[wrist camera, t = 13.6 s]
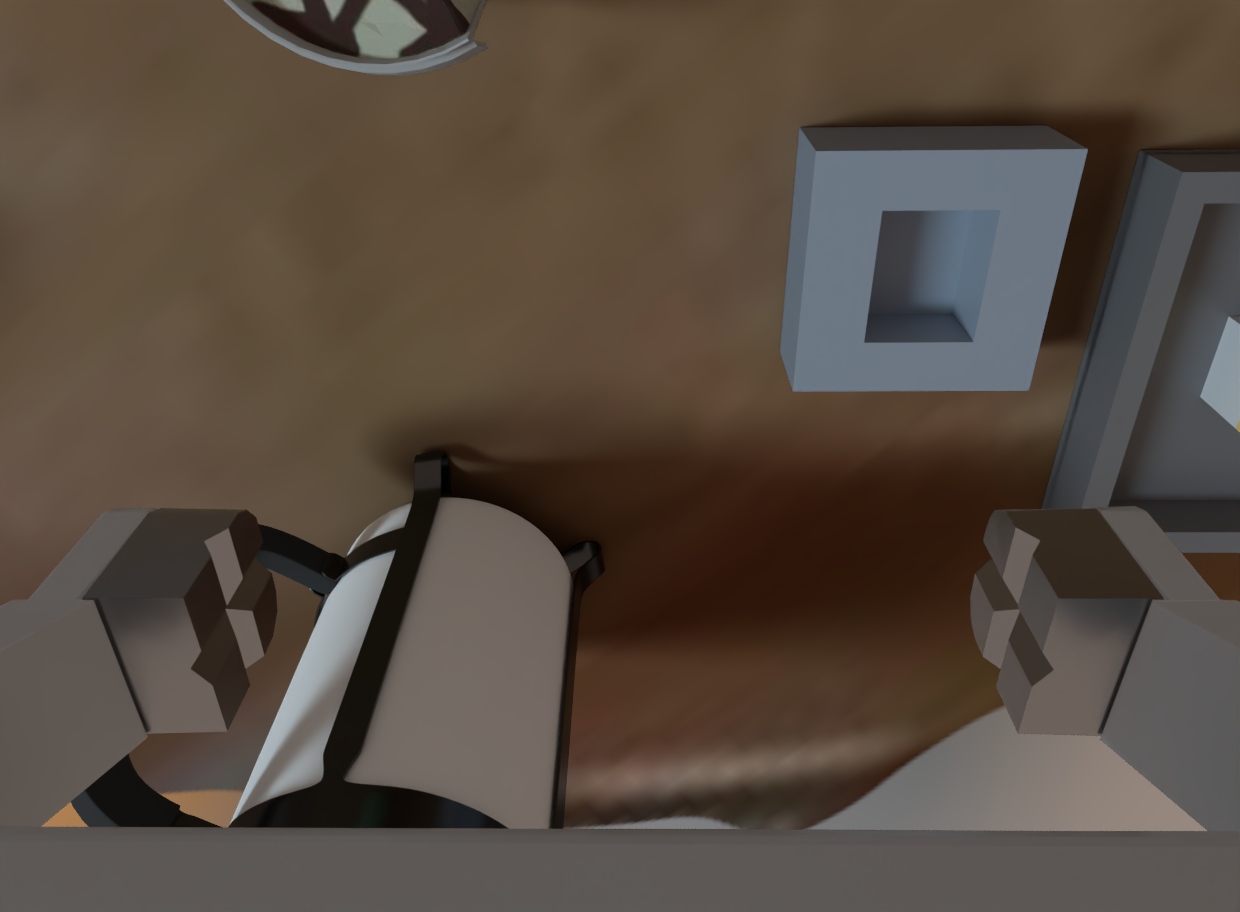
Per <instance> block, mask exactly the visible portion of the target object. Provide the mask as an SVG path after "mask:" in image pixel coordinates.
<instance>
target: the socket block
mask: <svg viewBox="0 0 1240 912" xmlns="http://www.w3.org/2000/svg"><path fill="white" fill-rule="evenodd" d="M1087 151H1088V149H1087V148H1085V147H1084V146H1082V145H1080V144H1078V143H1077V142H1075V141H1073V140H1071V139H1070V138H1068V137H1066V136H1064V135H1063V134H1061V133H1059V132H1057V131H1056V130H1054V129H1052V128H1050V127H1049V126H925V127H800V128H799V139H798V151H797V162H796V174H795V185H794V197H793V208H792V220H791V231H790V243H789V254H788V266H787V277H786V289H785V300H784V312H783V323H782V335H781V346H780V353H781V356H782V359H783V362H784V366H785V369H786V372H787V375H788V378H789V381H790V385H791V388H792V391H1029V388H1030V384H1031V380H1032V376H1033V372H1034V367H1035V363H1036V359H1037V355H1038V351H1039V347H1040V343H1041V339H1042V335H1043V331H1044V327H1045V323H1046V319H1047V314H1048V310H1049V306H1050V302H1051V298H1052V294H1053V290H1054V286H1055V282H1056V278H1057V274H1058V270H1059V266H1060V262H1061V257H1062V253H1063V249H1064V245H1065V241H1066V237H1067V233H1068V229H1069V225H1070V221H1071V217H1072V213H1073V209H1074V204H1075V200H1076V196H1077V192H1078V188H1079V184H1080V180H1081V176H1082V172H1083V168H1084V164H1085V160H1086V156H1087Z"/></svg>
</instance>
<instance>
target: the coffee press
mask: <svg viewBox="0 0 1240 912" xmlns="http://www.w3.org/2000/svg"><path fill="white" fill-rule="evenodd" d="M258 525H259V529H260V532H261V535H262V539H263V543H262V545H261V547H260V548H259V550H258V552H257V554H256V556H255V557H254V558H255V559H256V560H257V561H258V562H260V563H261V564H262V565H263V566H264V567H265V568H267V569H270V570H272V571H275V572H277V573H279V574H282V575H284V576H286V577H288V578H290V579H292V580H294V581H296V582H298V583H300V584H302V585H304V586H307V587H309V589H310V590H311V591H312V593H314V594H316V595H318V596H319V597H321V598H322V599H321V601H320V604H319V606H318V609H317V612H316V617H315V623H314V630H313V633H312V635H311V637H310V640H309V642H308V644H307V646H306V649H305V651H304V653H303V656H302V658H301V660H300V663H299V665H298V667H297V670H296V672H295V674H294V677H293V679H292V681H291V683H290V686H289V688H288V690H287V693H286V695H285V697H284V700H283V702H282V704H281V707H280V709H279V711H278V714H277V716H276V718H275V721H274V723H273V725H272V728H271V730H270V732H269V735H268V737H267V739H266V741H265V744H264V746H263V748H262V751H261V753H260V755H259V758H258V760H257V762H256V765H255V767H254V769H253V772H252V774H251V776H250V779H249V781H248V783H247V786H246V788H245V790H244V793H243V795H242V797H241V799H240V802H239V804H238V806H237V809H236V811H235V814H234V816H233V818H232V820H231V823H230V825H229V827H228V828H480V829H563V824H564V811H565V797H566V784H567V770H568V757H569V744H570V730H571V717H572V704H573V690H574V677H575V664H576V651H577V638H578V626H579V614H580V605H581V599H582V595H583V593H584V591H585V590H586V589H587V588H588V587H589V585H590V584H592V583H593V582H594V581H595V580H596V579H597V578H598V577H599V576H600V575H601V574H602V573H603V572H604V570H605V565H604V560H603V555H602V550H601V546H600V544H599V543H597V542H594V541H585V542H581V543H579V544H577V545H575V546H574V547H572V548H571V549H569V550H568V551H566V552H564V553H563V554H560V552H559V551H558V550H557V548H556V547H555V546H554V544H553V543H552V542H551V541H550V540H549V539H548V538H547V537H546V536H545V535H544V534H543V533H542V532H541V531H540V530H539V529H538V528H536V527H535V526H534V525H533V524H531V523H530V522H528V521H527V520H525V519H524V518H522V517H520V516H519V515H517V514H515V513H513V512H511V511H509V510H506V509H504V508H502V507H499V506H496V505H493V504H490V503H486V502H482V501H478V500H472V499H465V498H452V493H451V480H450V466H449V461H448V457H447V455H446V453H445V452H444V451H442V452H435V453H427V454H419V455H416V457H415V462H414V497H413V501H412V503H409V504H406V505H403V506H401V507H398V508H396V509H394V510H392V511H390V512H388V513H386V514H384V515H383V516H381V517H379V518H378V519H377V520H375V521H374V522H373V523H372V524H370V525H369V526H368V527H367V528H366V529H365V530H364V531H363V532H362V533H361V535H360V536H359V537H358V538H357V540H356V541H355V543H354V544H353V546H352V547H351V549H350V550H349V552H348V554H347V556H346V557H345V558H343V557H341V556H339V555H337V554H335V553H328V552H326V551H324V550H322V549H320V548H318V547H316V546H314V545H312V544H310V543H308V542H306V541H304V540H302V539H300V538H298V537H295V536H293V535H291V534H288V533H286V532H283V531H280V530H277V529H274V528H272V527H268V526H264V525H260V524H258ZM582 565H583V566H582ZM580 566H582V567H581V568H580V569H579V570H578V572H577V573H576V575H575V579H574V584H573V581H572V578H571V574H570V573H571V572H573V571H574V570H576V569H577V568H579V567H580ZM327 594H329V596H328V598H327V600H326V597H327ZM71 803H72V805H73V807H74V809H75V810H76V812H77V813H78V814H79V816H80V817H81V819H82V820H83V821H84V822H85V823H86V824H87V825H88V826H89V827H219V828H223V827H220V826H217V825H215V824H212V823H210V822H207V821H205V820H203V819H200V818H198V817H195V816H192V815H188V814H185V813H183V812H181V811H180V810H179V808H180V805H178V804H176V803H174V802H172V801H170V800H168V799H167V798H165V797H163V796H162V795H160V794H159V793H157V792H156V791H154V790H153V789H152V788H150V787H149V786H148V785H147V784H146V783H145V782H144V781H143V780H142V779H141V778H140V777H139V775H138V774H137V772H136V771H135V769H134V767H133V765H132V763H131V760H130V758H129V753H128V754H127V755H126V756H125V757H124V758H122V759H121V760H120V761H119V762H118V763H116V764H115V765H114V766H113V767H112V768H110V769H109V770H108V771H107V772H106V773H104V774H103V775H102V776H101V777H100V778H98V779H97V780H96V781H95V782H94V783H92V784H91V785H90V786H89V787H88V788H86V789H85V790H84V791H83V792H82V793H80V794H79V795H78V796H77V797H76V798H74V799H73V800H72V801H71Z"/></svg>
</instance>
